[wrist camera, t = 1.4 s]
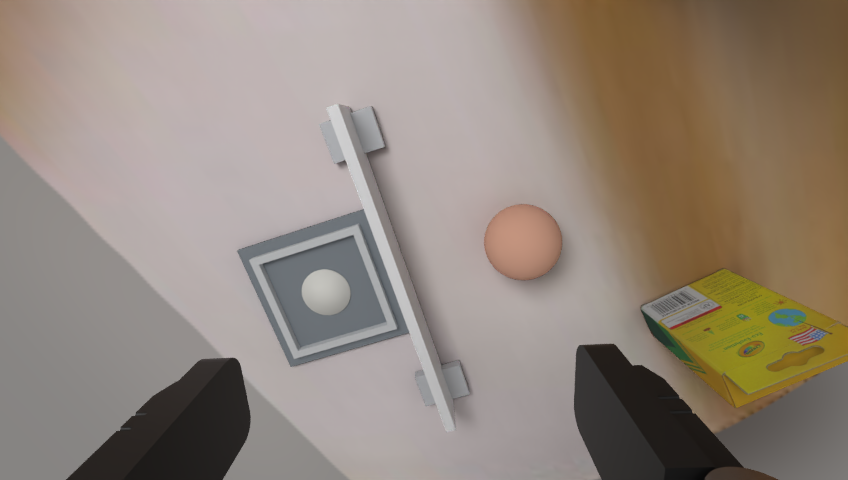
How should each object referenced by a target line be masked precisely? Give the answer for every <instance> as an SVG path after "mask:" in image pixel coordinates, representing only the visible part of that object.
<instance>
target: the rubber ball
mask: <svg viewBox="0 0 848 480" xmlns="http://www.w3.org/2000/svg"><path fill="white" fill-rule="evenodd" d="M484 246H485V251H486V255H487V257H488V259H489V261H490V263H491V264H492V265H493V267H494V268H495V269H496V270H497V271H499V272H500V273H501V274H503V275H505V276H507V277H509V278H512V279H517V280H531V279H535V278H538V277H540V276H542V275H544V274H545V273H547V272H548V271H549V270H550V269H551V268H552V267H553V266H554V265H555V264H556V262H557V260H558V258H559V256H560V254H561V249H562V235H561V231H560V229H559V226H558V224H557V223H556V221H555V220H554V219H553V217H552V216H551V215H550V214H549V213H547V212H546V211H544V210H543V209H541V208H538V207H536V206H533V205H527V204H521V205H514V206H510V207H508V208H506V209H504V210H502V211H500V212H499V213H498V214H497V215H496V216H495V217H494V218H493V219H492V220H491V222H490V223H489V225H488V227H487V230H486V233H485V238H484Z"/></svg>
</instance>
